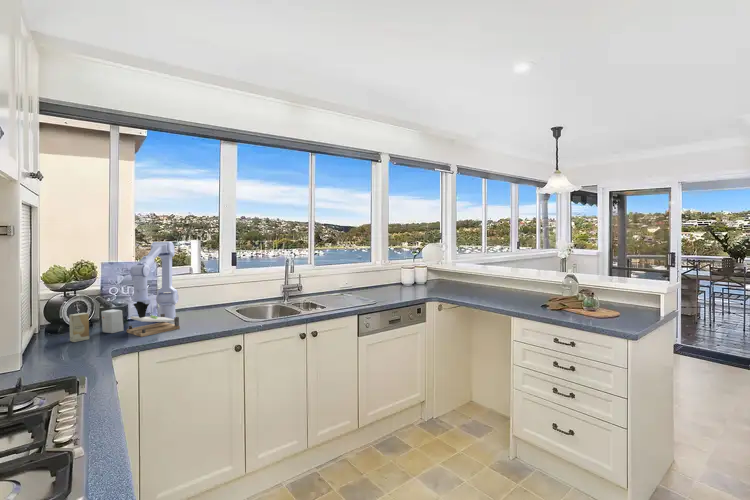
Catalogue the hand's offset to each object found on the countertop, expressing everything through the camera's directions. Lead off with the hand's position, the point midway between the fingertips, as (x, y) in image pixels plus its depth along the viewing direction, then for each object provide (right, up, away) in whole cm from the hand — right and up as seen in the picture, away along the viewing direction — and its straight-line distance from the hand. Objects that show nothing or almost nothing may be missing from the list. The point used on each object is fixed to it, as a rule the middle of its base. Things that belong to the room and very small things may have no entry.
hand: (142, 317), depth 185 cm
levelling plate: (+3, -2, +4) cm, 6 cm away
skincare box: (-22, -9, -11) cm, 26 cm away
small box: (-17, -8, +4) cm, 19 cm away
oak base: (+3, -7, +4) cm, 9 cm away
